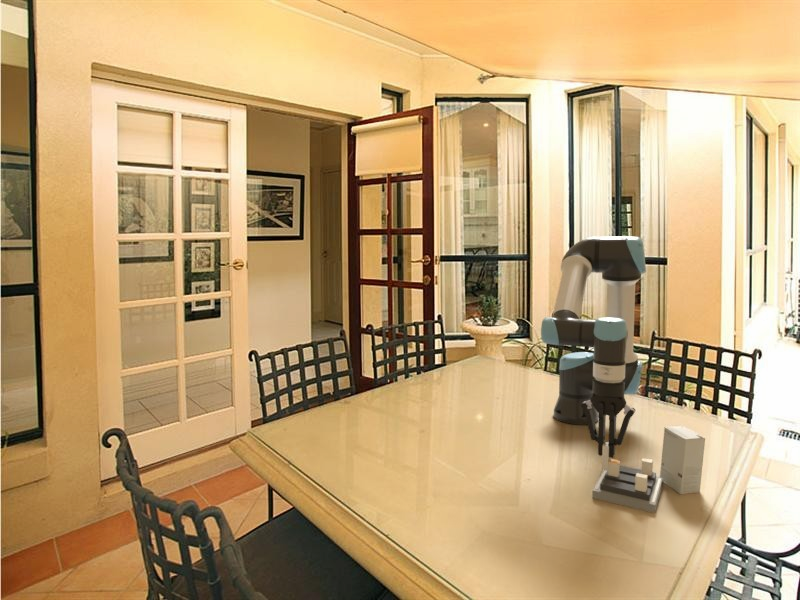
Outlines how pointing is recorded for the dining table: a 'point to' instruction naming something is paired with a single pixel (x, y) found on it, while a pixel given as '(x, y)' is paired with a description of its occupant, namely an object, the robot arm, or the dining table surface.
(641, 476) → the block
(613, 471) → the breaker mid
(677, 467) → the skincare box
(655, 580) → the dining table surface
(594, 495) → the panel
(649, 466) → the block
